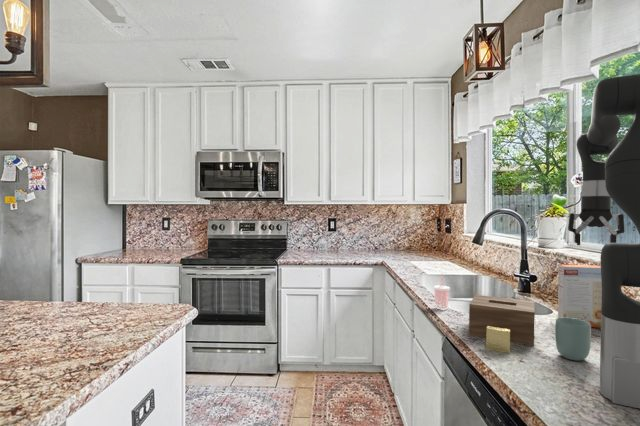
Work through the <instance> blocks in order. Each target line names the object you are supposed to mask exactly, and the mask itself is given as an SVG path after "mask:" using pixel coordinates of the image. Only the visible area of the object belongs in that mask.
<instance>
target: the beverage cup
mask: <svg viewBox="0 0 640 426" xmlns="http://www.w3.org/2000/svg"><path fill="white" fill-rule="evenodd" d="M443 275H444V274H443V273H442V274H441V276H440V279H441V280H440V282H441V285H438V284H437V285H434V286H433V288H434V304H435V305H434V306H435V307H436V308H437V309H448V307H449V296H450V290H451V287H450V286H447V285H443V278H444V277H443ZM437 309H436V310H437Z"/></svg>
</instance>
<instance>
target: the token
mask: <svg viewBox="0 0 640 426" xmlns="http://www.w3.org/2000/svg"><path fill="white" fill-rule="evenodd" d="M485 340H486V343H485V344H486V348H485V349H486V350H491V351H496V352H501V353H502V352H503V353H507V354H510V353H511V342H510V329H504V328H497V327H491V326H487V335H486V338H485Z"/></svg>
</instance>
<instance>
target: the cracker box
mask: <svg viewBox="0 0 640 426" xmlns="http://www.w3.org/2000/svg"><path fill="white" fill-rule="evenodd" d="M557 267H558V268H557V272H558V273H557V274H558V275H557V277H558V278H557V286H558V287H557V291H558V292H557V297H558V298H557V299H558V301H557V318H560V317H569V318H576V319H580V320H584V321H587V322H589V323H590V324H591V328H595V329H596V328H599V329H601V305H602V282H601V265H588V264H587V265H585V264H558V265H557Z"/></svg>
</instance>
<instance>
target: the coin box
mask: <svg viewBox="0 0 640 426" xmlns="http://www.w3.org/2000/svg"><path fill="white" fill-rule="evenodd" d="M468 311H469V312H468V313H469V315H468V335H469V336H470V337H471V336H473V337H479V338H483V339H484V338H485V339H486V335H487V326H491V327H497V328H504V329H510V343H514V344H519V345H526V346H533V347H534V346H535V311H536V310H535V301H533V300H524V299H517V298H506V297H501V296H500V297H499V296H490V295H484V294H483V295H482V294H474V297H473V298H472V299H471V301H470V302H469V310H468Z"/></svg>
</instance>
